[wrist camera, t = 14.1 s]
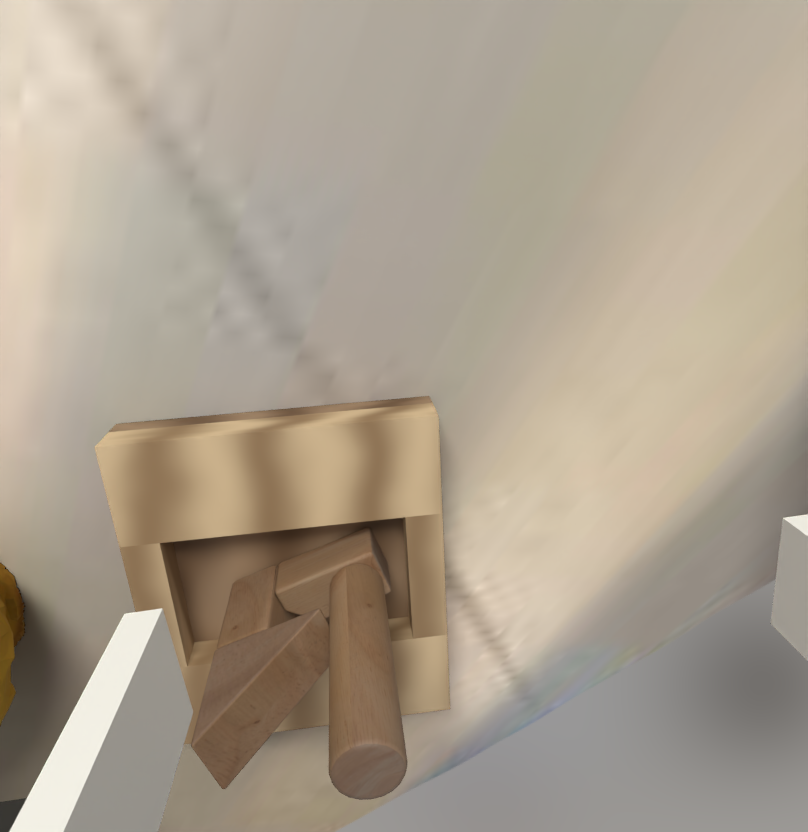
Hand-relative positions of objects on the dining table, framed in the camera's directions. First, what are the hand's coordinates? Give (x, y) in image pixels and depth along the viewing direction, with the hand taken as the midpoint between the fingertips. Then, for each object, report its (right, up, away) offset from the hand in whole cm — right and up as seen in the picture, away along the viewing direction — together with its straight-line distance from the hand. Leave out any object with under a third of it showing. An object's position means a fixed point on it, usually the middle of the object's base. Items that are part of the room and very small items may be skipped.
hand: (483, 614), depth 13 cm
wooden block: (-8, -7, +32) cm, 34 cm away
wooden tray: (-10, -7, +33) cm, 35 cm away
